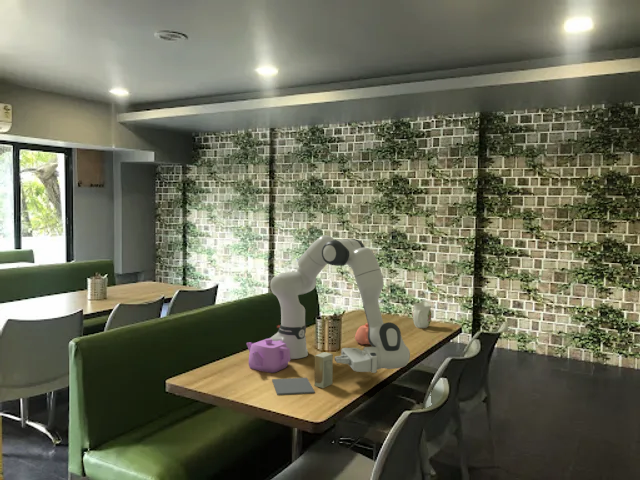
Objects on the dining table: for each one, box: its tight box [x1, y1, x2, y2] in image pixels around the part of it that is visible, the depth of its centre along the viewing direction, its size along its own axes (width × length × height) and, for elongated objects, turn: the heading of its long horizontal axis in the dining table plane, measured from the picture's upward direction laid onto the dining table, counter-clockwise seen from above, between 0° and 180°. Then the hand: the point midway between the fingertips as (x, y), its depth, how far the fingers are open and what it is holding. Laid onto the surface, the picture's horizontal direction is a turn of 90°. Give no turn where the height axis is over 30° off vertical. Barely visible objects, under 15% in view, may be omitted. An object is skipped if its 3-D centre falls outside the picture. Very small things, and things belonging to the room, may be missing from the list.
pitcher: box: [412, 301, 432, 329], centre depth 305 cm, size 11×18×14 cm, turn 157°
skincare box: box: [314, 351, 334, 389], centre depth 202 cm, size 6×4×12 cm
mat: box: [271, 377, 316, 396], centre depth 200 cm, size 14×16×1 cm
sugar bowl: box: [354, 322, 370, 346], centre depth 265 cm, size 12×14×10 cm
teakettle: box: [246, 337, 291, 374], centre depth 223 cm, size 17×17×12 cm
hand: (335, 359), depth 203 cm, fingers closed
